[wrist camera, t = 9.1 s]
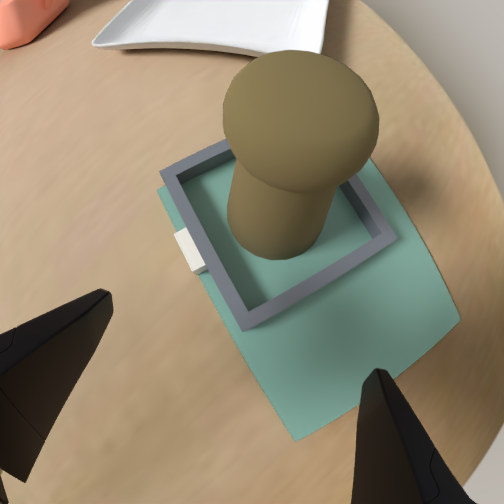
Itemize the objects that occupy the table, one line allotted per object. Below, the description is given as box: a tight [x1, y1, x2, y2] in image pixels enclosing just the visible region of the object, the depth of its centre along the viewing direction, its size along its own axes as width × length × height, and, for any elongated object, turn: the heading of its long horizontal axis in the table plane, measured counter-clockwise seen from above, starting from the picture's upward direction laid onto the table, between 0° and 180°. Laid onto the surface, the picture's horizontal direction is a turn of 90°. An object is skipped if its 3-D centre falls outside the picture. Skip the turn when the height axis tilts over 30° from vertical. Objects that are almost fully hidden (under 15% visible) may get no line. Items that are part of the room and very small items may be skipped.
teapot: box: [0, 0, 69, 50], centre depth 20 cm, size 12×18×10 cm, turn 74°
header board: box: [157, 139, 461, 442], centre depth 17 cm, size 18×14×2 cm
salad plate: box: [92, 0, 329, 57], centre depth 22 cm, size 21×21×3 cm
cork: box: [223, 50, 379, 260], centre depth 13 cm, size 6×6×11 cm
